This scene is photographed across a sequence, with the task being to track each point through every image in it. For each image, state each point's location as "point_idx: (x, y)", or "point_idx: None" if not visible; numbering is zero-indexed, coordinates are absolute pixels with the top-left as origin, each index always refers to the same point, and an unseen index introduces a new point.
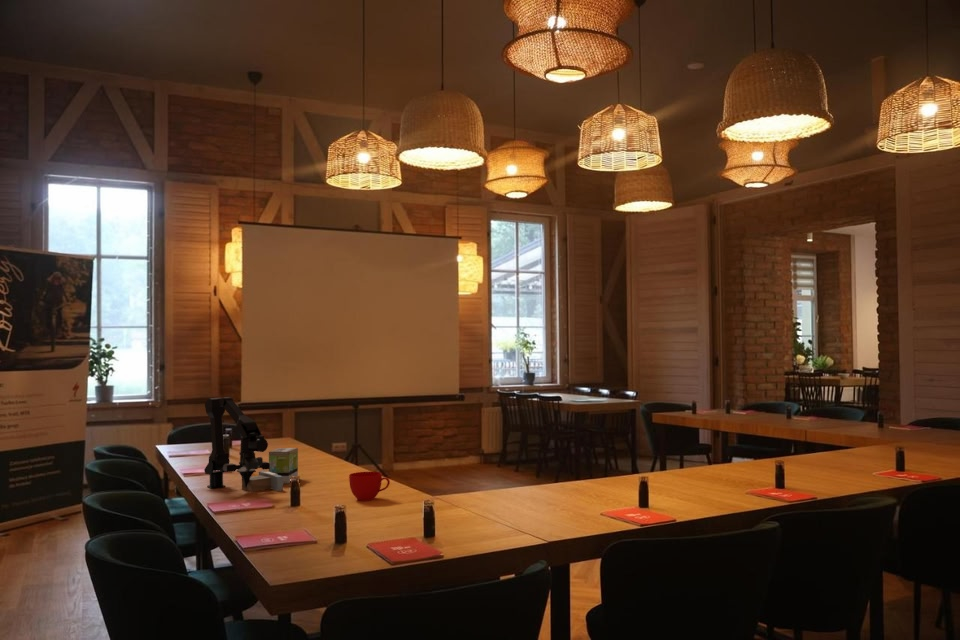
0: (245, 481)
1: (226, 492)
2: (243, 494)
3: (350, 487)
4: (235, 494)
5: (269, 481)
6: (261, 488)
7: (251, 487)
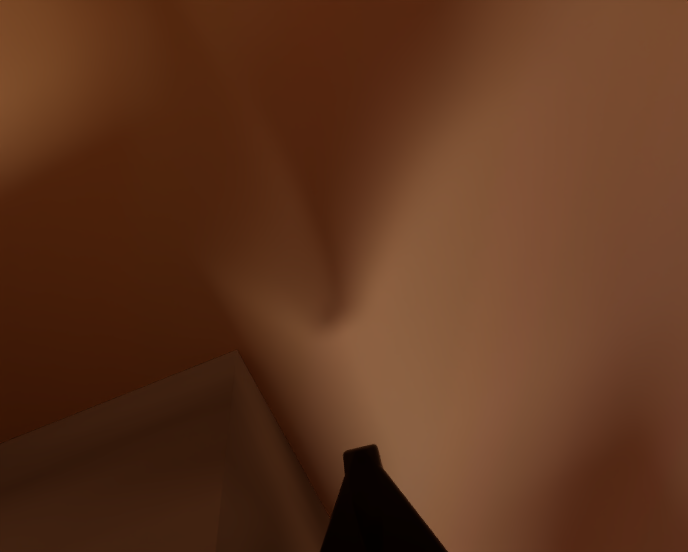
0: (428, 543)
1: (641, 467)
2: (444, 102)
3: None
4: (588, 200)
5: None
6: (3, 463)
7: (233, 415)
